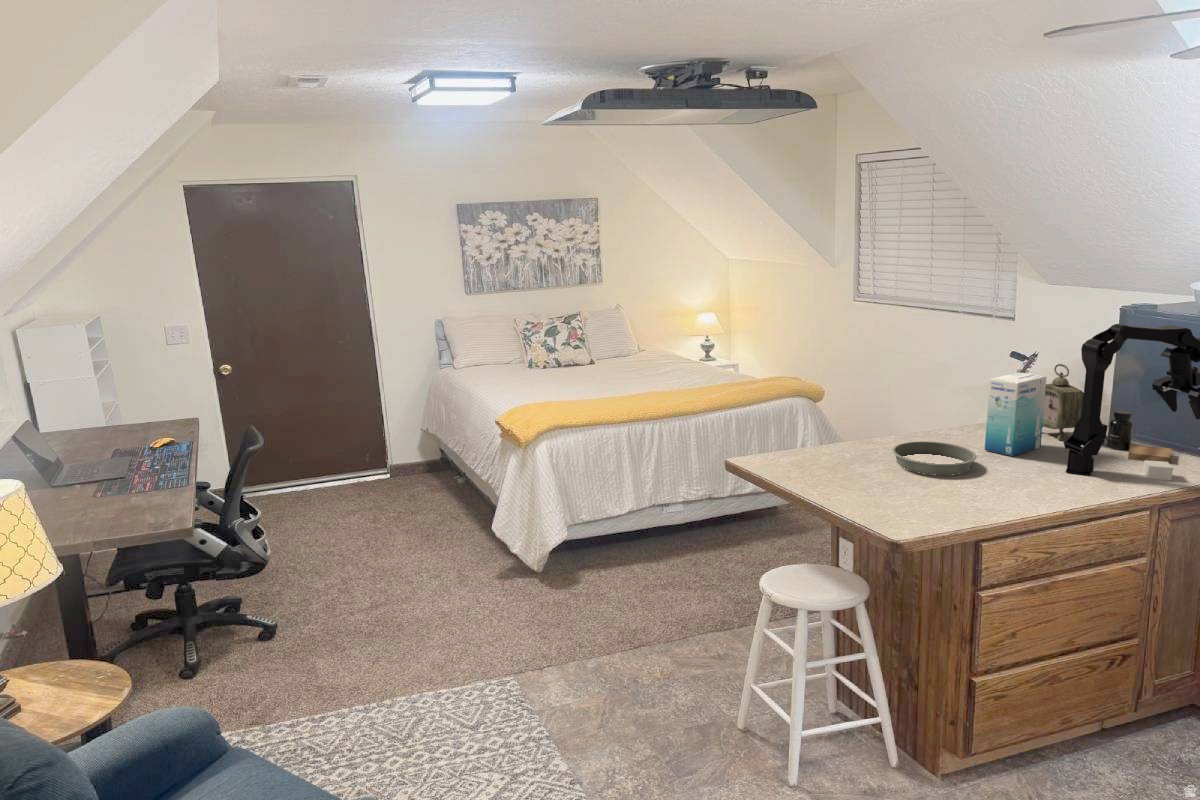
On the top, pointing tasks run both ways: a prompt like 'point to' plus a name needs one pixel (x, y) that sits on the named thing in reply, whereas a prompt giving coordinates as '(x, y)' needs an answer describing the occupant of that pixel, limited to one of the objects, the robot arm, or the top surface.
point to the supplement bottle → (1120, 431)
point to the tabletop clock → (1062, 404)
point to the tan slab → (1149, 453)
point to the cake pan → (934, 449)
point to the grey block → (1158, 470)
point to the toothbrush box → (1015, 413)
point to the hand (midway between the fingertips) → (1186, 415)
